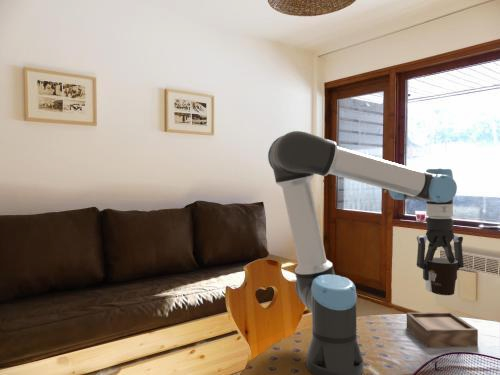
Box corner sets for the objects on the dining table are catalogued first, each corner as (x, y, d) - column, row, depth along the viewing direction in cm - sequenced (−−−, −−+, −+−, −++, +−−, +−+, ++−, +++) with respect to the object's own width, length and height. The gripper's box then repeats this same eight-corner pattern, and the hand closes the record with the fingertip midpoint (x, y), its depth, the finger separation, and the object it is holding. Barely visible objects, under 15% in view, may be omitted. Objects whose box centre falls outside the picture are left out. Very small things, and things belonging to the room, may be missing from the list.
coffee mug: (462, 297, 114) (462, 263, 114) (431, 295, 116) (430, 263, 116) (450, 286, 126) (450, 255, 125) (422, 285, 127) (422, 255, 127)
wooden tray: (427, 347, 114) (427, 330, 114) (406, 327, 129) (406, 312, 129) (477, 346, 114) (477, 329, 114) (451, 326, 129) (451, 312, 129)
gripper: (414, 219, 116) (414, 294, 117) (477, 218, 117) (477, 293, 117) (404, 216, 124) (404, 287, 125) (463, 215, 124) (463, 286, 125)
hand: (440, 290), depth 121 cm, fingers closed on coffee mug, 6 cm apart
